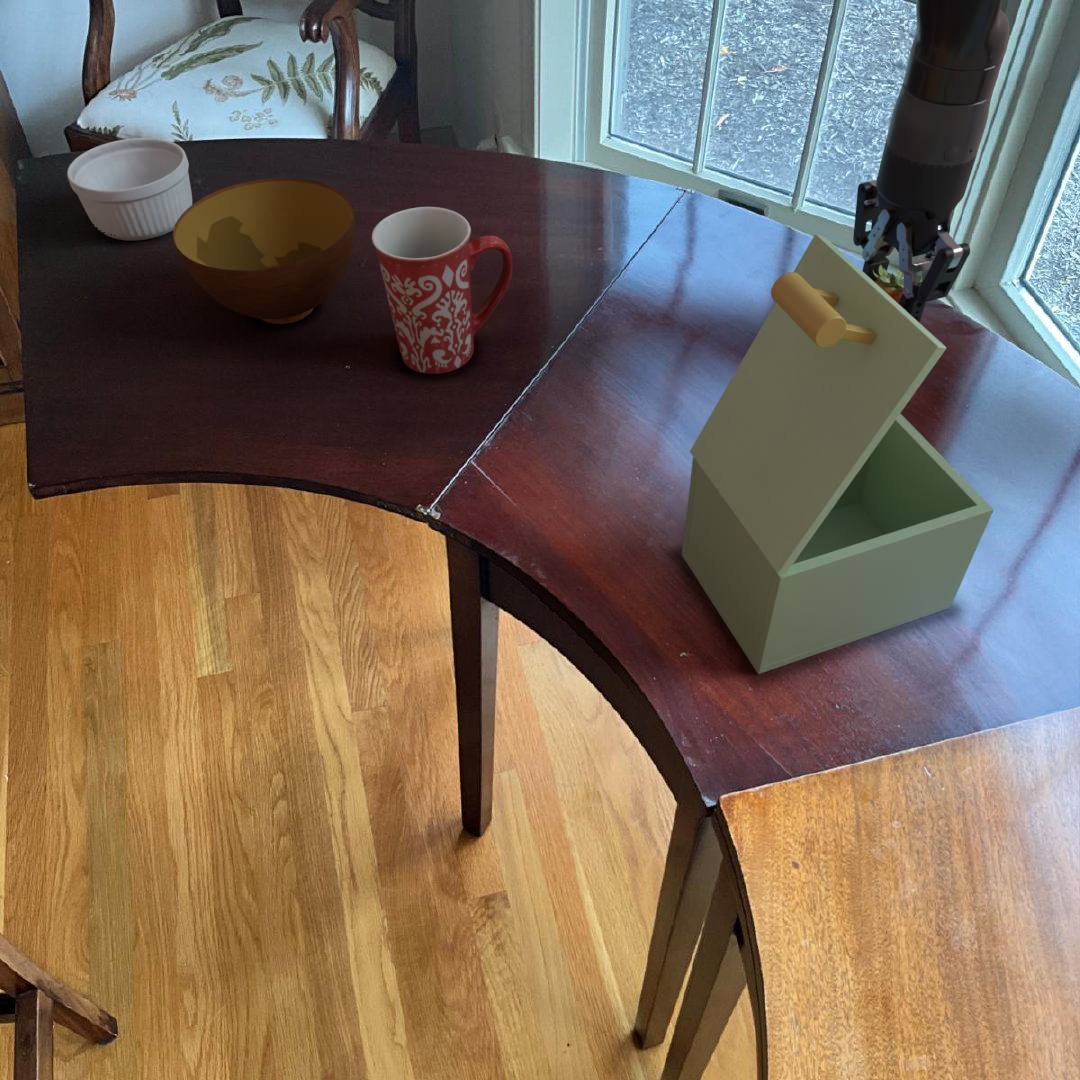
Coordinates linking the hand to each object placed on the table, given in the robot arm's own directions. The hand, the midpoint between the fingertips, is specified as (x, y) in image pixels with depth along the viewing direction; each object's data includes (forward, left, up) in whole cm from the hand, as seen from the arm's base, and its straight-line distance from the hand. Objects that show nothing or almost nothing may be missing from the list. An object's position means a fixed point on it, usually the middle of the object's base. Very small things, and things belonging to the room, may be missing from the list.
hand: (886, 309), depth 97 cm
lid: (+21, +30, +16) cm, 40 cm away
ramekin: (+76, -39, -4) cm, 85 cm away
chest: (+17, +29, -3) cm, 34 cm away
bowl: (+59, -17, -4) cm, 61 cm away
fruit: (0, 0, -4) cm, 4 cm away
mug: (+42, -6, -4) cm, 43 cm away
